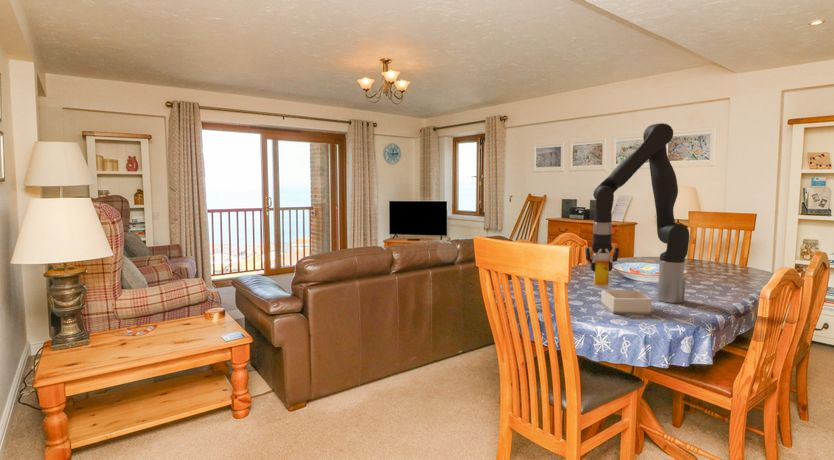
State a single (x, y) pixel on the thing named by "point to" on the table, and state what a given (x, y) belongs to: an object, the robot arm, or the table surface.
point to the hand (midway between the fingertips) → (601, 270)
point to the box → (625, 302)
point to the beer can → (601, 270)
